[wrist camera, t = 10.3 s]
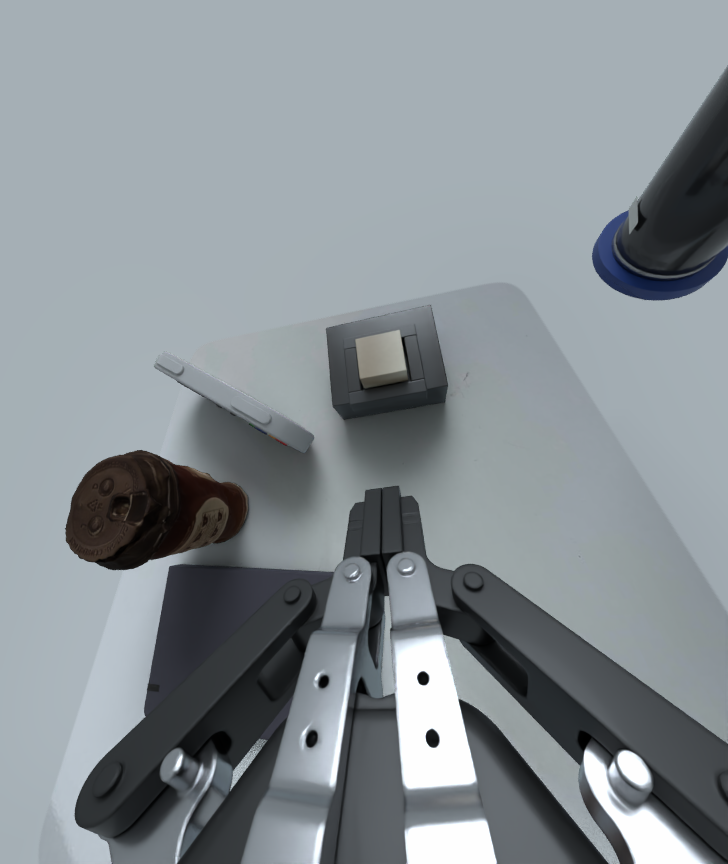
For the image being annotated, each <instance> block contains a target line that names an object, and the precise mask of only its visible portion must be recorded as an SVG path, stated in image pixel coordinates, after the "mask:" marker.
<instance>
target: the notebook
mask: <svg viewBox="0 0 728 864" xmlns="http://www.w3.org/2000/svg"><path fill="white" fill-rule="evenodd" d="M333 574H334V572H320V571H301V570H281V569H262V568H243V567H223V566H204V565H184V564H180V565H174V566H170V567H169V572H168V577H167V583H166V589H165V594H164V600H163V605H162V611H161V617H160V622H159V628H158V633H157V639H156V645H155V650H154V656H153V661H152V667H151V673H150V678H149V683H148V688H147V695H146V701H145V707H144V713H145V716H147V715H148V714H149V713H150V712H151V711H152V710H153V709H154V708H155V707H156V706H157V705H159V704H160V703H161V702H162V701H163V700H164V699H165V698H166V697H167V696H168V695H169V694H170V693H171V692H172V691H173V690H174V689H175V688H176V687H177V686H178V685H179V684H180V683H182V682H183V681H184V680H185V679H186V678H187V677H188V676H189V675H190V674H191V673H192V672H193V671H194V670H195V669H196V668H197V667H198V666H199V665H200V664H201V663H202V662H203V661H205V660H206V659H207V658H208V657H209V656H210V655H211V654H212V653H213V652H214V651H215V650H216V649H217V648H218V647H219V646H220V645H221V644H222V643H223V642H224V641H225V640H226V639H228V638H229V637H230V636H231V635H232V634H233V633H234V632H235V631H236V630H237V629H238V628H239V627H240V626H241V625H242V624H243V623H244V622H245V621H246V620H247V619H248V618H249V617H251V616H252V615H253V614H254V613H255V612H256V611H257V610H258V609H259V608H260V607H261V606H262V605H263V604H264V603H265V602H266V601H267V600H268V599H269V598H270V597H271V596H272V595H274V594H275V593H276V592H277V591H278V590H279V589H280V588H281V587H282V586H283V585H284V584H285V583H287V582H289V581H291V580H293V579H297V578H302V579H306V580H307V581H309V582H310V584H311V585H313V584H315V583H318V582H320V581H323V580H325V579H327V578H329V577H331V576H332V575H333ZM293 696H294V695H293ZM293 696H292V697H291V699H290V700H289V701H288V702H287V704H286V705H285V706H284V707H283V709H282V710H281V711H280V712H279V714H278V715H277V716H276V718H275V719H274V720H273V721H272V723H271V724H270V725H269V726H268V728H267V729H266V730H265V731H264V733H263V734H262V735H261V736H260V738H259V739H265V740H268V739H269V738H270V737H271V735H272V734H273V733H274V731H275V730H276V729H277V727H278V726H279V725H280V724H281V723H282V722H283V721H284V720H285V719H286V718H287V717H288V715H289V711H290V707H291V703H292V700H293Z"/></svg>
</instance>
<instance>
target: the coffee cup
mask: <svg viewBox="0 0 728 864" xmlns="http://www.w3.org/2000/svg"><path fill="white" fill-rule="evenodd" d="M247 499H248V497H247V495H246V493H245V492H244V491H243V490H242V488H241V487H240V486H237V484H235V483H231V482H223V483H219V482H217V481H215V480H214V479H213V478H212V477H211V476H210V475H209V474H208V473H202V472H200V471H198V470H196V469H193V468H190V467H188V466H181V465H175V464H173V463H172V462H170V461H168V460H166V459H164V458H162V457H160V456H158V455H155V454H153V453H150V452H147V451H143V450H137V451H134V452H129V453H126V454H124V455H118V456H114V457H110V458H107V459H105V460H103V461H101V462H99V463H98V464H96V465H95V466H94V467H93V468H92V469H91V470H90V471H88V472H87V474H85V476H84V477H83V479H82V481H81V482H80V484H79V486H78V488H77V490H76V491H75V493H74V495H73V497H72V501H71V509H70V513H69V516H68V520H67V524H66V528H65V529H66V542H67V543H68V544H69V546H70V549H71V550H72V551H73V552H74V553H75V554H77V555H78V556H79V558H80V559H84V560H86V561H88V562H95V563H97V564H99V565H100V566H103V567H106V568H108V569H111V570H128V569H134V568H137V567H139V566H141V565H143V564H144V563H146V562H148V560H154V559H159V558H163V557H166V556H169V555H173V554H177V553H183V552H186V551H188V550H191V549H196V548H200V547H204V546H207V545H209V544H211V543H222V542H225V541H227V540H229V539H230V538H232V537H234V536H235V535H236V534H237V533H238V532H239V530H240V529H241V527H242V526H243V524H244V521H245V519H246V515H247V511H248V500H247Z"/></svg>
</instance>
